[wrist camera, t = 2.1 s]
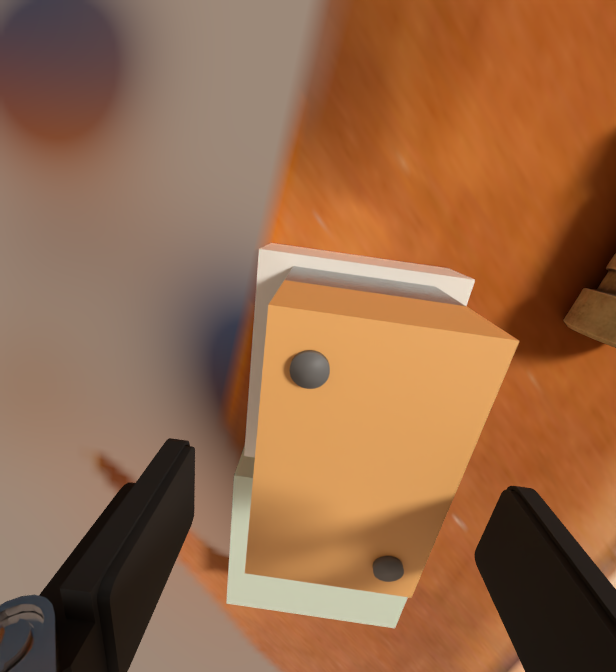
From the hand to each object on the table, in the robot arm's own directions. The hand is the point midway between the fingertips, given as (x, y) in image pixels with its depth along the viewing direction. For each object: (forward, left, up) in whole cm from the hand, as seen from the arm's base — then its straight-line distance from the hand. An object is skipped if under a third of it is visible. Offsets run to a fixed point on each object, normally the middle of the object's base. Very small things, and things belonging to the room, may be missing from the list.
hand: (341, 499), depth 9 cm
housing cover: (-1, 0, -3) cm, 3 cm away
